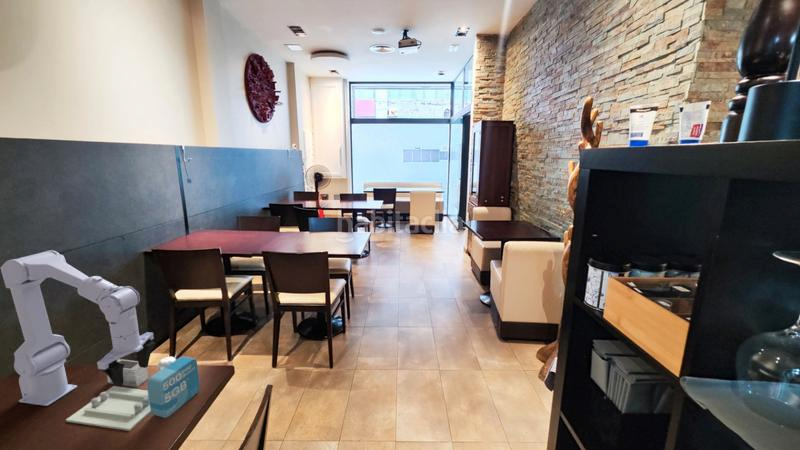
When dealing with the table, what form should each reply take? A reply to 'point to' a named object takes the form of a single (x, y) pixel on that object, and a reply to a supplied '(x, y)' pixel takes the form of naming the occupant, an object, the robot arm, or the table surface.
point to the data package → (173, 386)
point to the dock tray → (115, 409)
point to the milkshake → (166, 362)
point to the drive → (132, 373)
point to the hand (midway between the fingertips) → (131, 375)
